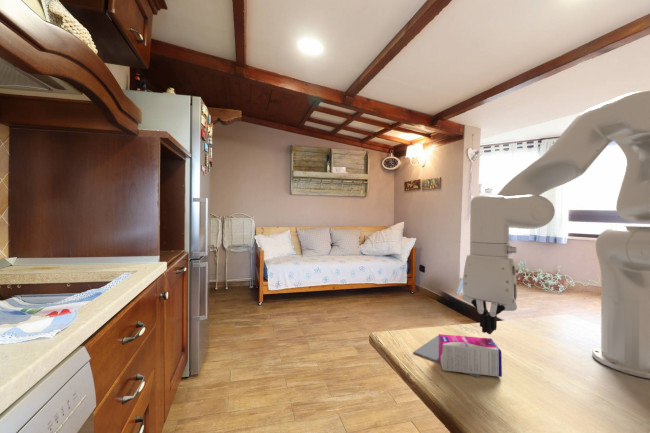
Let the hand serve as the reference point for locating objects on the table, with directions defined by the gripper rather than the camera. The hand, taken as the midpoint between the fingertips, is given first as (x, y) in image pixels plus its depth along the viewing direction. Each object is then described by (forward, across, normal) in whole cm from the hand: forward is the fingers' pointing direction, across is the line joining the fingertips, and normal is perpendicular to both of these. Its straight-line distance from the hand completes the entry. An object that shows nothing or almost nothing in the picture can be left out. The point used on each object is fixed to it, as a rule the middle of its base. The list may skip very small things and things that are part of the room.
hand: (488, 331), depth 63 cm
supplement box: (+4, -2, +2) cm, 5 cm away
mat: (+8, +7, 0) cm, 11 cm away
